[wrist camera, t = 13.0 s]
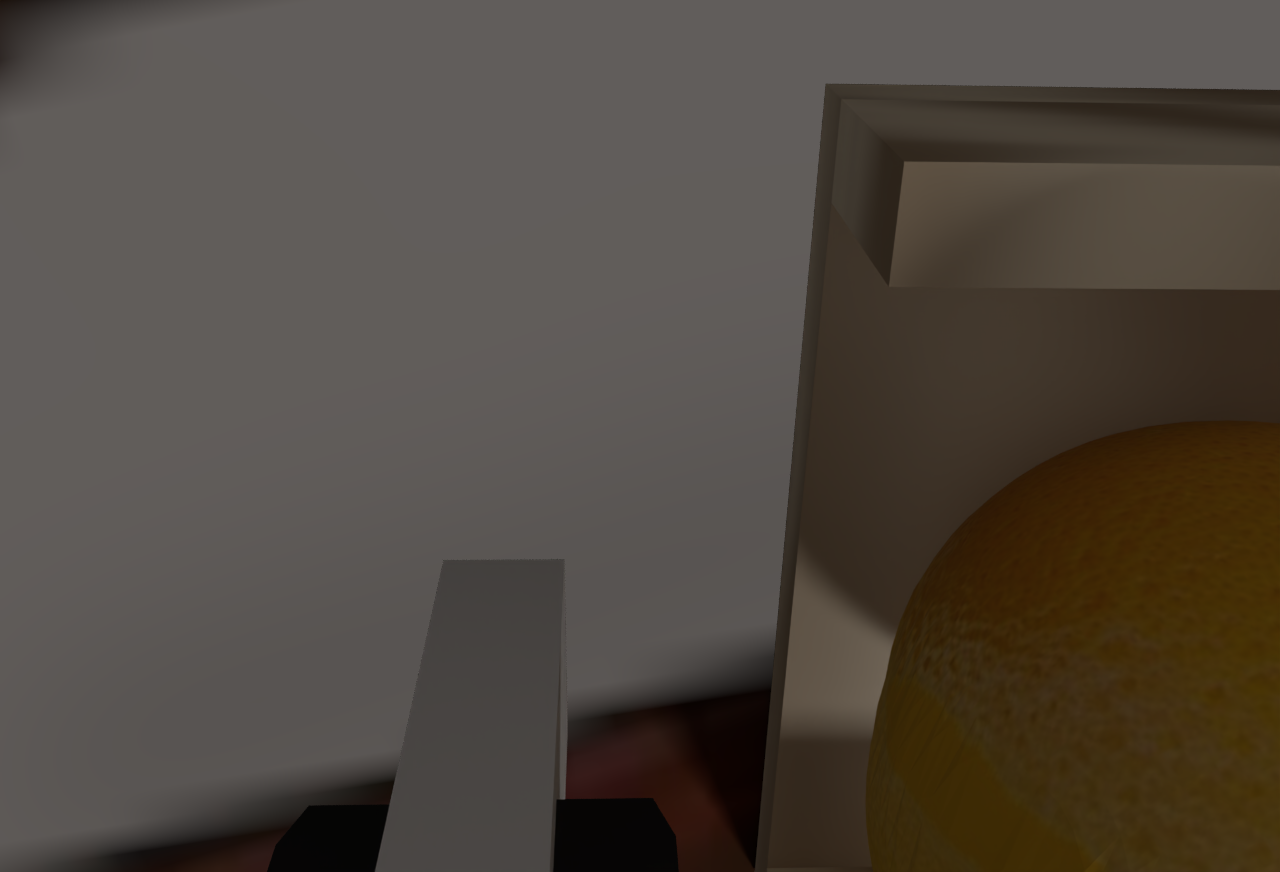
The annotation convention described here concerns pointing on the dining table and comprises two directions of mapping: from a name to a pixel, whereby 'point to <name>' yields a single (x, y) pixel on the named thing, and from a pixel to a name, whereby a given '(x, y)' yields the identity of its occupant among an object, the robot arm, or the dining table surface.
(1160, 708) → the fruit
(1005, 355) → the channel
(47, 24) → the dining table surface
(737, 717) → the dining table surface
